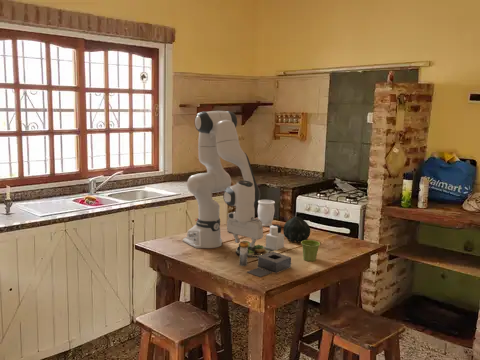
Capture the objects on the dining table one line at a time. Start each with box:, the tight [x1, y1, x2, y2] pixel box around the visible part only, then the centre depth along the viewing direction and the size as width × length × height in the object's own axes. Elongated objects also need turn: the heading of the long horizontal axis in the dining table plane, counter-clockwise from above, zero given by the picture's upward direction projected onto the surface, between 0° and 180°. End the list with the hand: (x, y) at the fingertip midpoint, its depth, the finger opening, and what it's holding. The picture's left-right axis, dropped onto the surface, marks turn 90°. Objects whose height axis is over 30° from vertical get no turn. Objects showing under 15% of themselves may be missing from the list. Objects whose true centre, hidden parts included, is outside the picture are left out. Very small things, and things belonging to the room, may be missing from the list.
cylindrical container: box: [239, 240, 249, 267], centre depth 227 cm, size 4×4×11 cm
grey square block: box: [257, 251, 292, 274], centre depth 225 cm, size 11×11×5 cm
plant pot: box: [300, 239, 321, 262], centre depth 237 cm, size 9×9×9 cm
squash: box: [282, 216, 311, 243], centre depth 268 cm, size 14×15×15 cm
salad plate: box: [235, 240, 275, 258], centre depth 246 cm, size 19×18×5 cm
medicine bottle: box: [265, 224, 285, 251], centre depth 254 cm, size 7×7×12 cm
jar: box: [257, 199, 276, 227], centre depth 299 cm, size 11×10×15 cm
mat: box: [246, 267, 273, 278], centre depth 218 cm, size 8×8×1 cm
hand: (244, 244), depth 225 cm, fingers open, 8 cm apart
